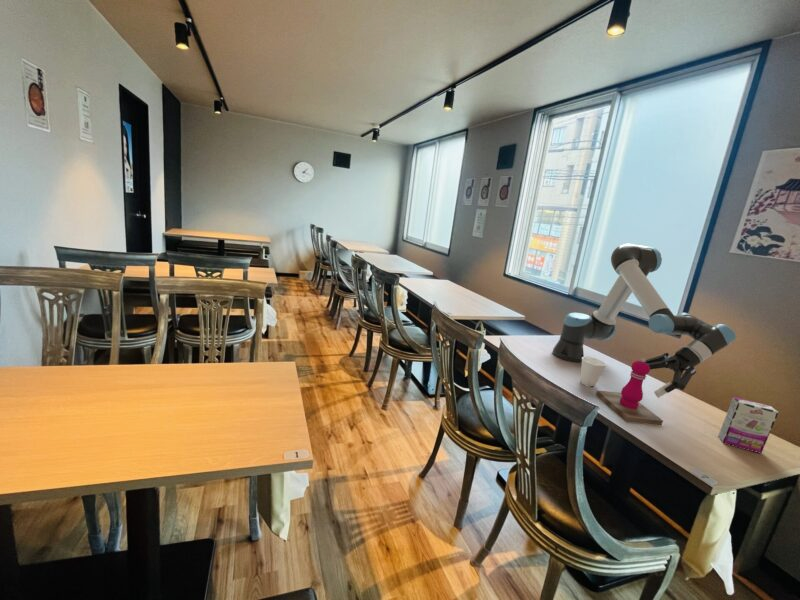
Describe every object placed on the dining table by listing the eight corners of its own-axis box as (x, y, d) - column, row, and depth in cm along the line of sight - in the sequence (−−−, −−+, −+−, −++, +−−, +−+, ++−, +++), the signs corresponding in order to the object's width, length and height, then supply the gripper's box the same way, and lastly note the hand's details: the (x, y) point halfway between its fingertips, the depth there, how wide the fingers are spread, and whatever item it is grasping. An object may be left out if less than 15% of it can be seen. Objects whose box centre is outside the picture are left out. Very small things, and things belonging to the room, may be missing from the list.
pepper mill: (643, 409, 143) (659, 362, 138) (629, 410, 141) (645, 362, 136) (627, 399, 150) (642, 354, 145) (613, 400, 147) (628, 354, 142)
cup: (597, 391, 158) (604, 368, 155) (573, 382, 163) (579, 359, 161) (601, 384, 166) (608, 362, 163) (578, 376, 171) (584, 354, 169)
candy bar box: (754, 446, 131) (772, 405, 127) (761, 454, 127) (780, 412, 123) (716, 435, 135) (732, 396, 131) (722, 443, 130) (739, 402, 126)
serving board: (595, 394, 155) (597, 390, 154) (626, 397, 156) (628, 393, 155) (626, 421, 135) (627, 417, 135) (661, 425, 137) (663, 420, 136)
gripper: (725, 376, 129) (672, 410, 132) (671, 348, 153) (627, 378, 156) (717, 360, 127) (663, 395, 130) (663, 335, 151) (619, 365, 154)
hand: (643, 386), depth 143 cm, fingers open, 13 cm apart
